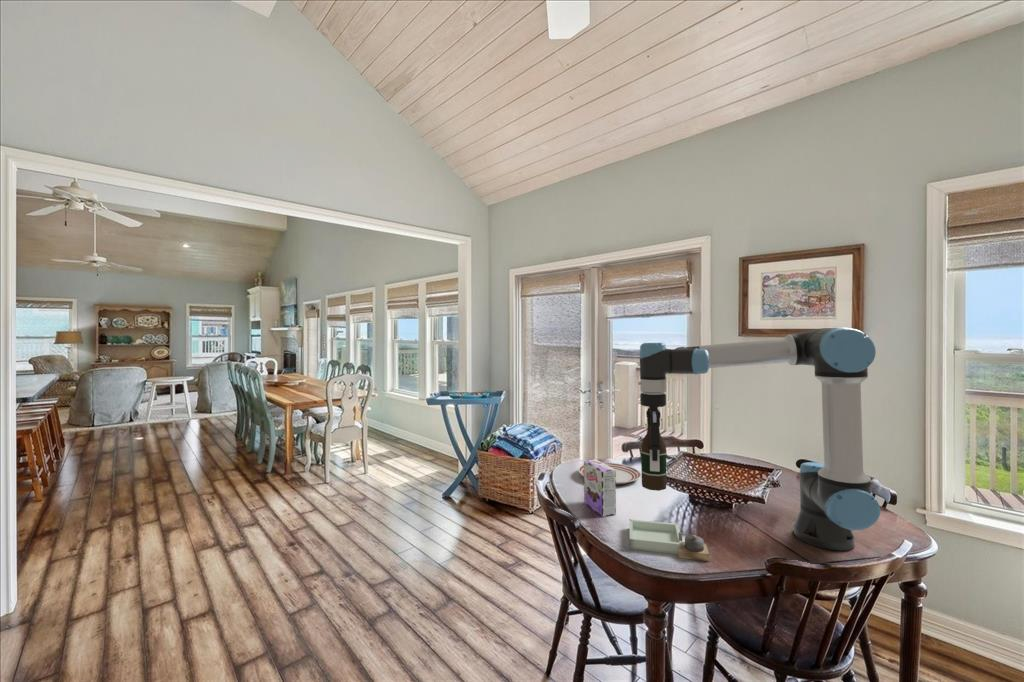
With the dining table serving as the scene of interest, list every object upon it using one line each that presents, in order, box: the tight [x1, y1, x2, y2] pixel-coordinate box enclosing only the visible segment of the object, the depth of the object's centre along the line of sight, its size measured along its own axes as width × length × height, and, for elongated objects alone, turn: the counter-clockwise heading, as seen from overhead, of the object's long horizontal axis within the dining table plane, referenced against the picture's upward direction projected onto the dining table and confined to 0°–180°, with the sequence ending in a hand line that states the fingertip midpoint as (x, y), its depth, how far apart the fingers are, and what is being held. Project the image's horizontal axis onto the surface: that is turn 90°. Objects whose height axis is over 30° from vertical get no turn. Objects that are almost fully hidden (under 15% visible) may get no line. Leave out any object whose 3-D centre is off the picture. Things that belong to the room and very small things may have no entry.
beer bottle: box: [640, 408, 667, 492], centre depth 132 cm, size 8×8×24 cm
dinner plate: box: [577, 461, 642, 486], centre depth 191 cm, size 27×27×3 cm
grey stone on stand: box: [677, 531, 710, 562], centre depth 124 cm, size 8×6×5 cm
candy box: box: [583, 458, 617, 518], centre depth 157 cm, size 14×6×16 cm, turn 18°
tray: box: [628, 518, 684, 555], centre depth 132 cm, size 15×14×3 cm
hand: (653, 466), depth 132 cm, fingers closed on beer bottle, 7 cm apart
